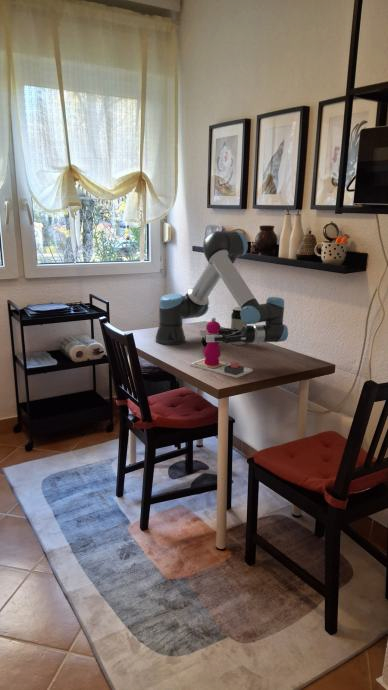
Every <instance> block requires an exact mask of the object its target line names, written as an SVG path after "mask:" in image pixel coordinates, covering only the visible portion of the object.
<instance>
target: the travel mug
mask: <svg viewBox="0 0 388 690" xmlns="http://www.w3.org/2000/svg"><path fill="white" fill-rule="evenodd" d="M240 312H241V308H240V306H234V307H232V312H231V319H230V321H231V322H230V328H236V329H239V330H242V328H243V326H248V324H246V323H244V322H243V321H242V320H241V316H240ZM231 344H232V345H236V346H243V345H246V344H247V343H244V342H243V341H240V342H232V343H231Z"/></svg>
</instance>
